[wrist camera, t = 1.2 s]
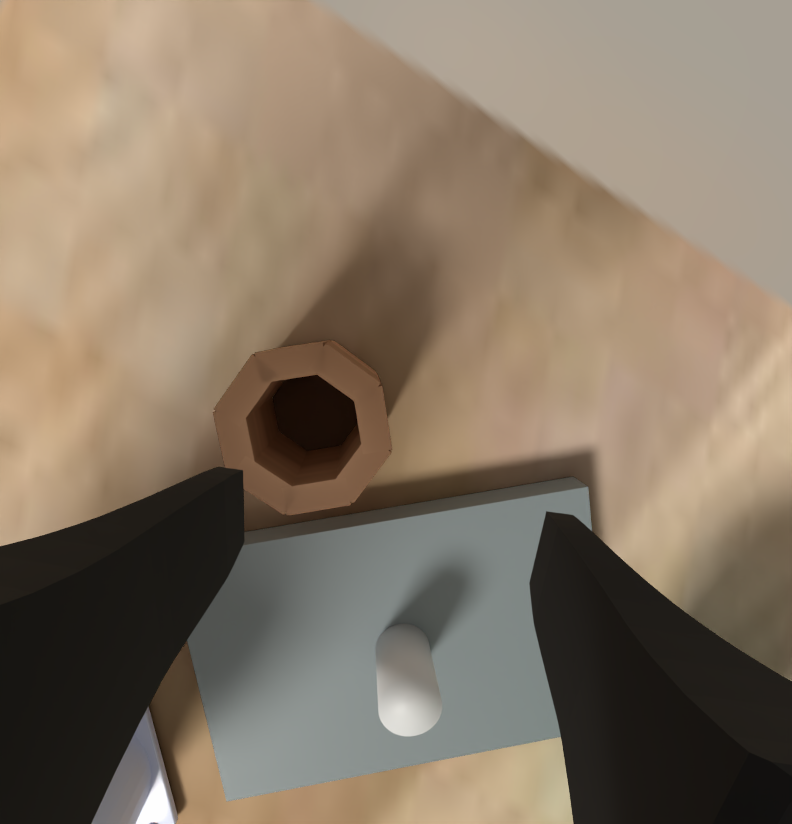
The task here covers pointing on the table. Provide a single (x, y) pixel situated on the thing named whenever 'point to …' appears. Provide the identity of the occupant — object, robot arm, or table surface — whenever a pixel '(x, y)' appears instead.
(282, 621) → the post board
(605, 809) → the robot arm
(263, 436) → the tube
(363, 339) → the table surface
